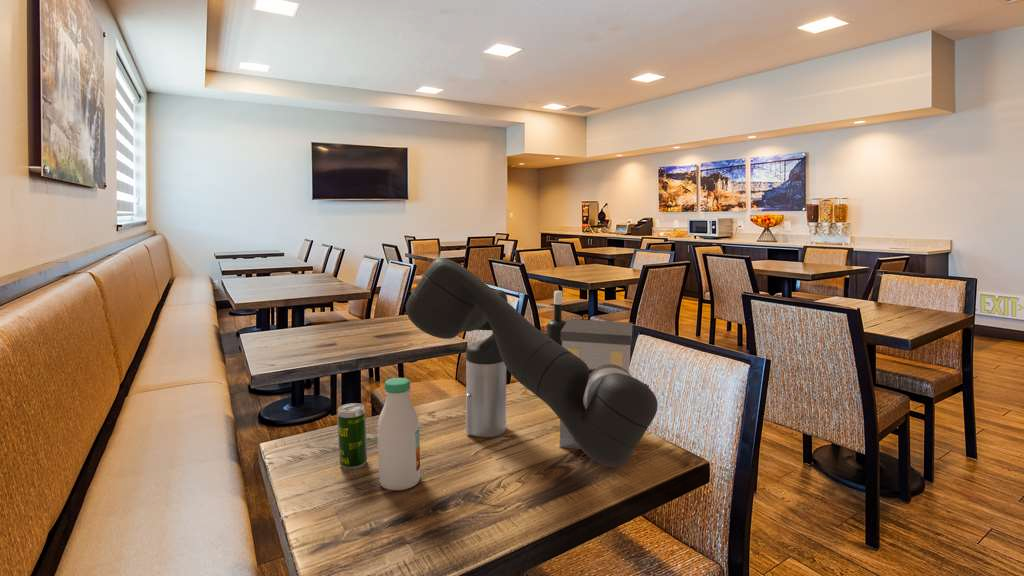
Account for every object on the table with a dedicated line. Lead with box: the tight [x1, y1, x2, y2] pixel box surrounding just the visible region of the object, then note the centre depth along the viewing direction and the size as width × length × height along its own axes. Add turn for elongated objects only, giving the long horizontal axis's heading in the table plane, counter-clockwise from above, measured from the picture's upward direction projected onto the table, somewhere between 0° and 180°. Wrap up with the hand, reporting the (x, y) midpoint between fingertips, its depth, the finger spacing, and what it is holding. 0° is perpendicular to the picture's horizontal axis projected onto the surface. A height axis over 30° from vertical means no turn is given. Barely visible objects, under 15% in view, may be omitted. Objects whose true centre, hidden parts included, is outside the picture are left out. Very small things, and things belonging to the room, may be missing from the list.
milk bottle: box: [377, 377, 421, 492], centre depth 102 cm, size 8×8×20 cm
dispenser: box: [559, 318, 633, 450], centre depth 120 cm, size 13×15×26 cm
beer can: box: [336, 402, 368, 471], centre depth 109 cm, size 5×5×12 cm
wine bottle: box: [546, 290, 567, 346], centre depth 143 cm, size 6×6×30 cm
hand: (608, 375), depth 96 cm, fingers closed
